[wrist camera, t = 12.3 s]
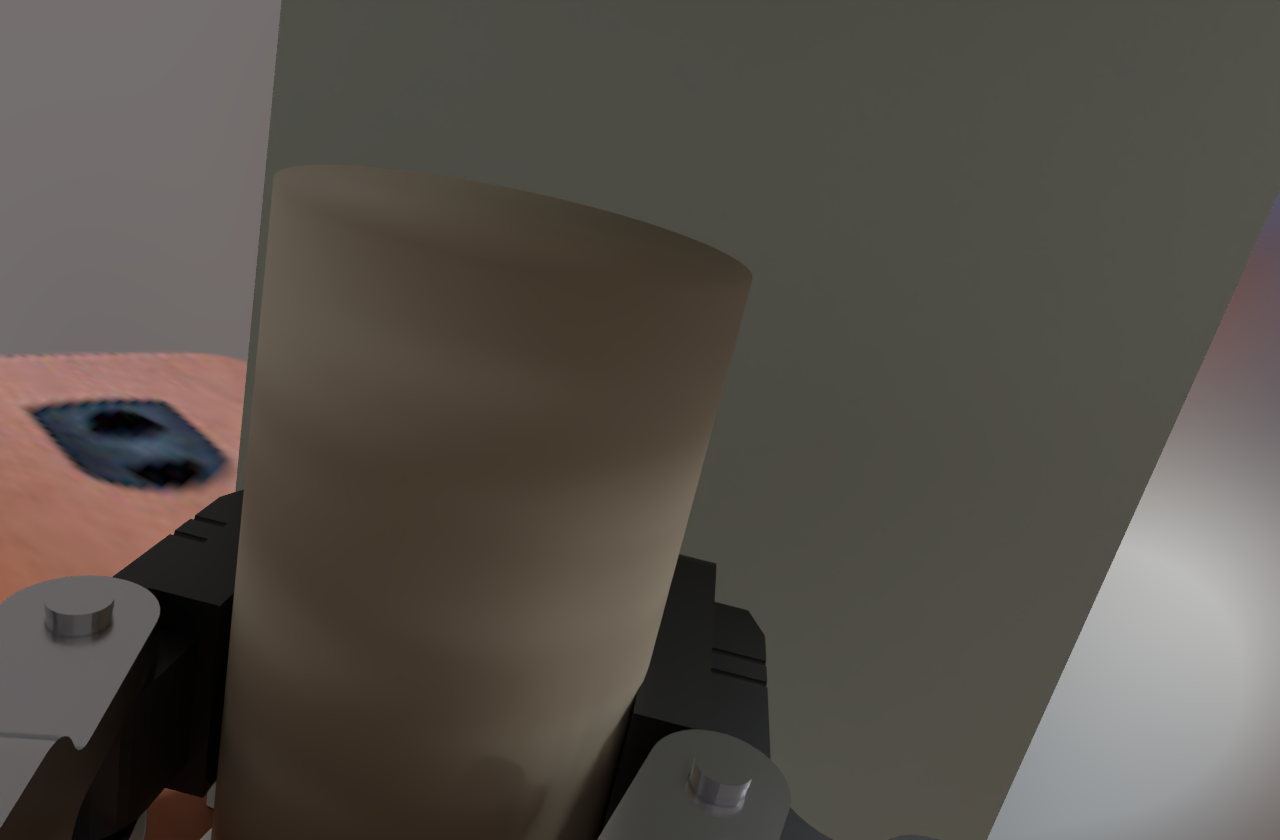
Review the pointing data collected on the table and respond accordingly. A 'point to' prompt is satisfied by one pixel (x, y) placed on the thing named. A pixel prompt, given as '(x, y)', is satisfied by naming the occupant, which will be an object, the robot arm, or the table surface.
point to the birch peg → (459, 504)
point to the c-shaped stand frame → (870, 307)
